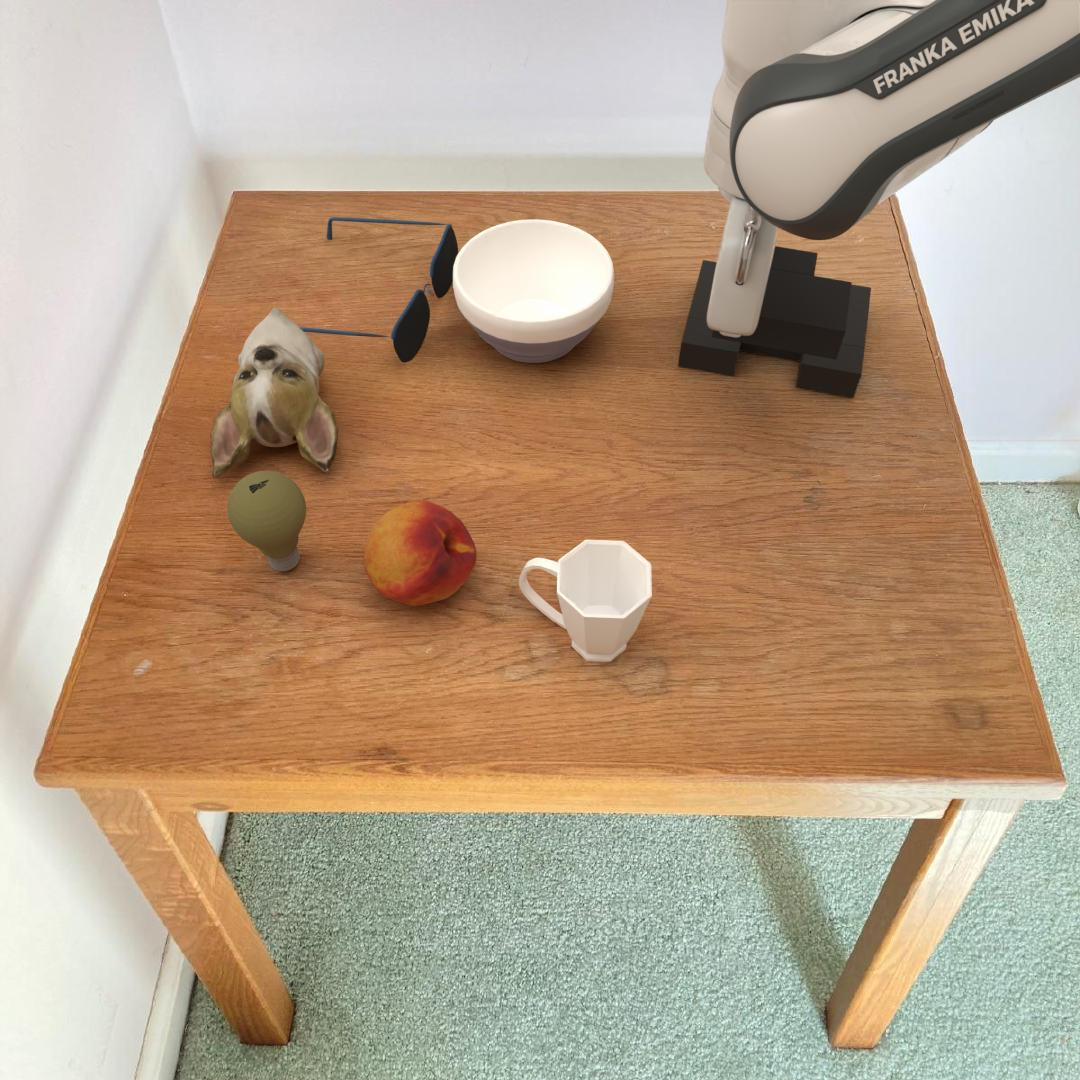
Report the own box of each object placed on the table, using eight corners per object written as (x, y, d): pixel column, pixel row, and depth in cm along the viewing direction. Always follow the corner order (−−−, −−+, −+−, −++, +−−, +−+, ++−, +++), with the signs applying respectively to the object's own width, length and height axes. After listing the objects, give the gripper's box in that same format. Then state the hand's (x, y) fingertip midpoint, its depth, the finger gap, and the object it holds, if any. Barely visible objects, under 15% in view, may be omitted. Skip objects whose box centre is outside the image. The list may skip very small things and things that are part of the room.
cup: (624, 693, 75) (632, 635, 68) (501, 642, 77) (497, 582, 71) (659, 619, 78) (670, 557, 72) (540, 573, 81) (541, 509, 74)
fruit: (434, 644, 77) (424, 584, 71) (349, 596, 80) (333, 534, 73) (493, 572, 81) (489, 509, 75) (410, 527, 84) (400, 463, 77)
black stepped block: (845, 287, 87) (854, 258, 84) (836, 360, 81) (845, 331, 79) (727, 267, 88) (733, 238, 86) (711, 337, 83) (716, 308, 80)
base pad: (863, 312, 99) (871, 287, 97) (853, 398, 92) (861, 374, 90) (699, 284, 102) (703, 259, 99) (677, 366, 95) (681, 342, 92)
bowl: (624, 296, 101) (629, 231, 95) (591, 400, 92) (595, 335, 86) (481, 272, 103) (477, 207, 97) (437, 371, 94) (430, 307, 88)
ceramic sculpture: (334, 289, 88) (322, 426, 79) (350, 360, 95) (341, 491, 87) (208, 295, 87) (184, 432, 79) (234, 365, 95) (214, 497, 86)
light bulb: (291, 605, 79) (263, 526, 71) (235, 574, 81) (202, 493, 73) (336, 555, 82) (314, 473, 74) (281, 526, 84) (254, 443, 76)
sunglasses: (408, 376, 94) (395, 334, 90) (265, 363, 98) (247, 322, 94) (464, 260, 104) (455, 217, 100) (333, 252, 108) (319, 210, 104)
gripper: (798, 244, 66) (759, 397, 77) (828, 77, 77) (791, 231, 88) (700, 228, 66) (676, 381, 78) (744, 66, 78) (718, 219, 89)
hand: (737, 300), depth 83 cm, fingers closed on black stepped block, 6 cm apart
